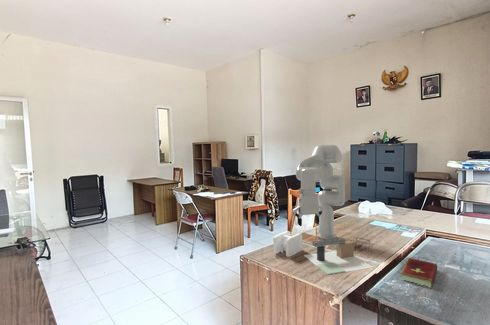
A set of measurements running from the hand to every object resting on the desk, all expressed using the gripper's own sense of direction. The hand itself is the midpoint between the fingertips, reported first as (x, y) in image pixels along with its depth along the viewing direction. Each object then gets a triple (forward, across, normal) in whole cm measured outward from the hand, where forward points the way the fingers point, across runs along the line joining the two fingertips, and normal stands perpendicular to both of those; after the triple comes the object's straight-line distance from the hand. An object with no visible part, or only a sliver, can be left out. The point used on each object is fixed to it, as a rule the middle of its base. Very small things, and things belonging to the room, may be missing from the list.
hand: (308, 224), depth 142 cm
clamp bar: (+12, +12, +1) cm, 17 cm away
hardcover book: (+22, +45, -26) cm, 56 cm away
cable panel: (+21, +14, -3) cm, 26 cm away
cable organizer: (+22, -5, +16) cm, 28 cm away
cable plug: (+20, +7, 0) cm, 21 cm away
